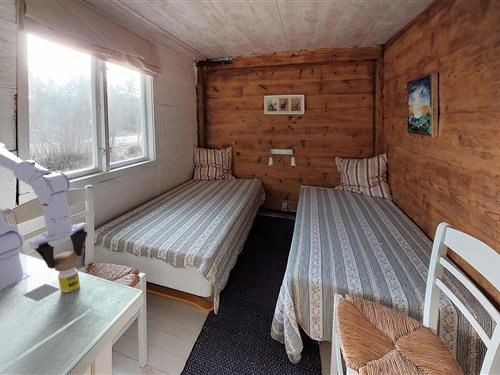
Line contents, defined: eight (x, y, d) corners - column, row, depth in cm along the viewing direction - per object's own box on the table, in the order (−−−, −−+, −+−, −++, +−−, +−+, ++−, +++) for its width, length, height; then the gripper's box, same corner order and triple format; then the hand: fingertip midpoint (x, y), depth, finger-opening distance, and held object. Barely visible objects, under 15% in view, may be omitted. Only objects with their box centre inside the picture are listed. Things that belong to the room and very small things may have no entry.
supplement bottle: (71, 297, 76) (66, 271, 74) (57, 295, 77) (52, 269, 75) (84, 287, 81) (80, 262, 79) (71, 285, 82) (66, 261, 80)
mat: (23, 296, 77) (22, 294, 76) (45, 285, 82) (45, 283, 82) (38, 302, 74) (37, 300, 74) (60, 290, 79) (59, 289, 79)
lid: (50, 268, 75) (48, 258, 75) (69, 259, 80) (67, 250, 80) (63, 272, 73) (61, 262, 73) (82, 263, 78) (80, 253, 78)
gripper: (37, 227, 65) (47, 276, 68) (91, 210, 78) (98, 252, 81) (20, 223, 68) (30, 271, 71) (75, 208, 81) (82, 248, 84)
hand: (65, 261), depth 77 cm, fingers open, 7 cm apart
